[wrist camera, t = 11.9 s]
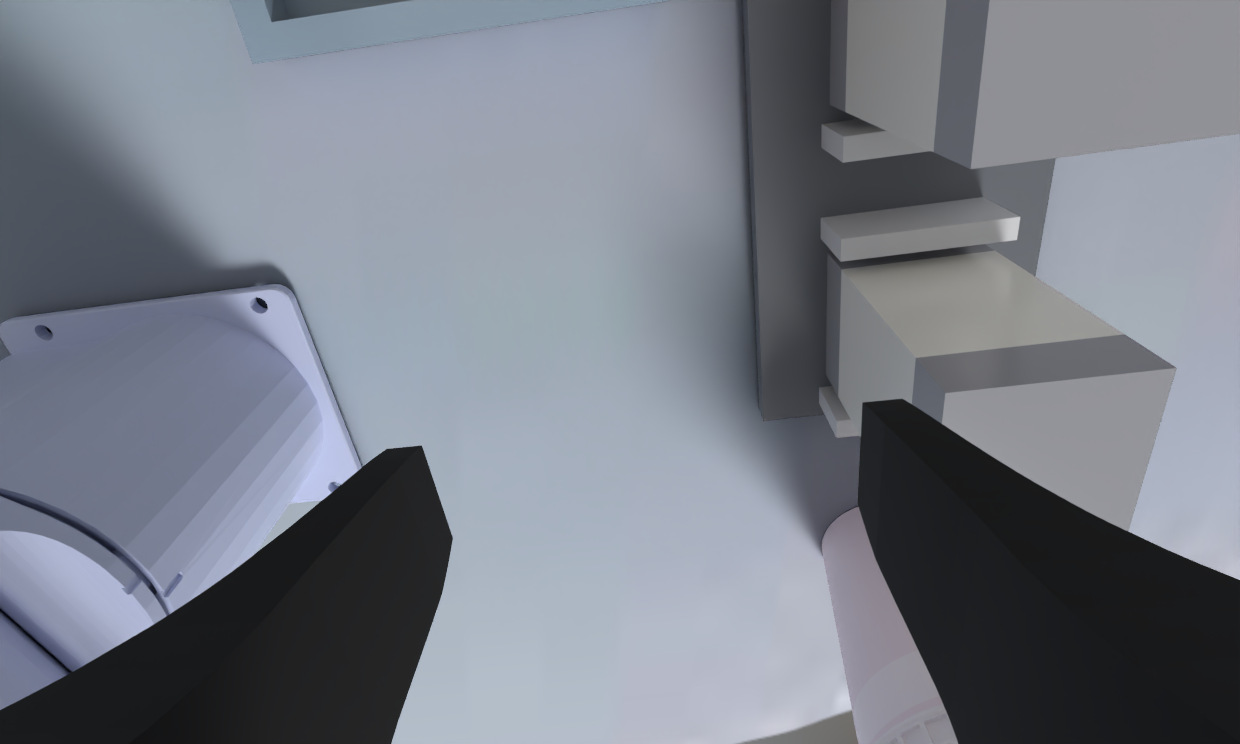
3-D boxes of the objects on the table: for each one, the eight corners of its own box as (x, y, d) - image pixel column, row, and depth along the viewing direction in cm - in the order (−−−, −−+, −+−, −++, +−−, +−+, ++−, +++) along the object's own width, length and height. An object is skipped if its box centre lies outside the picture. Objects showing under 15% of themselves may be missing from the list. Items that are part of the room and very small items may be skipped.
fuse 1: (829, 104, 17) (970, 169, 10) (832, -80, 15) (1007, -156, 8) (988, 82, 17) (1247, 132, 10) (1010, -108, 15) (1348, -212, 8)
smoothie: (771, 596, 27) (896, 1095, 14) (805, 467, 24) (999, 959, 11) (928, 606, 27) (1182, 1105, 15) (981, 479, 24) (1359, 975, 12)
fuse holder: (759, 408, 23) (775, 456, 20) (713, -699, 12) (737, -886, 9) (1002, 381, 22) (1050, 428, 20) (1191, -805, 11) (1350, -1036, 9)
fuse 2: (825, 374, 21) (927, 557, 14) (827, 252, 19) (945, 393, 12) (955, 359, 21) (1126, 538, 14) (970, 235, 19) (1177, 368, 12)
